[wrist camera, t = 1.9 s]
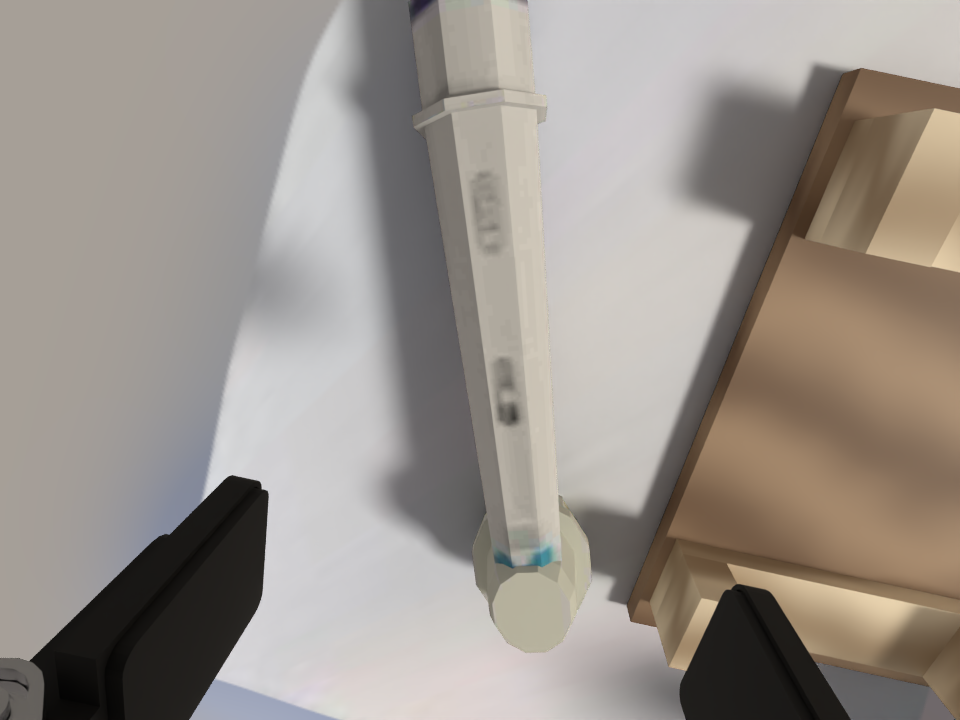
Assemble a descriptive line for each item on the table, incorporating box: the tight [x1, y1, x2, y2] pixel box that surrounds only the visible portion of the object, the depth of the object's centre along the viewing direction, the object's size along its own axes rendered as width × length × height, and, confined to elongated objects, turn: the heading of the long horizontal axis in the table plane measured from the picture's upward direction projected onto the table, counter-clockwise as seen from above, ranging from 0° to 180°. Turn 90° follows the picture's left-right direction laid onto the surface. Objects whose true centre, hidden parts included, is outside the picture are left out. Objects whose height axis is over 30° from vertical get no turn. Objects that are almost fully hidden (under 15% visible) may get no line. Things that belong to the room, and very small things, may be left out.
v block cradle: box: [627, 68, 960, 720], centre depth 20 cm, size 25×16×4 cm, turn 169°
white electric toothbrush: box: [408, 0, 592, 653], centre depth 20 cm, size 5×7×25 cm
